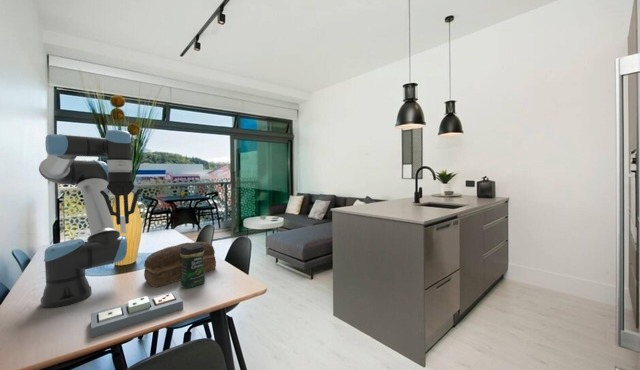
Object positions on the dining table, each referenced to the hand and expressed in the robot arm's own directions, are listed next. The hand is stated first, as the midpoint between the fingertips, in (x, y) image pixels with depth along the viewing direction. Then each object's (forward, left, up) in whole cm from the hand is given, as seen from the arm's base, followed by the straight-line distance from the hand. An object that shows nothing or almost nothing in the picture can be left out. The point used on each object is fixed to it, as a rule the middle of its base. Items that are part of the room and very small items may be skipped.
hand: (123, 232), depth 103 cm
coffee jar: (+18, +18, -28) cm, 38 cm away
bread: (+6, +30, -29) cm, 42 cm away
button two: (+11, -9, -26) cm, 29 cm away
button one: (+5, -14, -27) cm, 31 cm away
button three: (+17, -3, -27) cm, 32 cm away
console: (+11, -9, -28) cm, 31 cm away
